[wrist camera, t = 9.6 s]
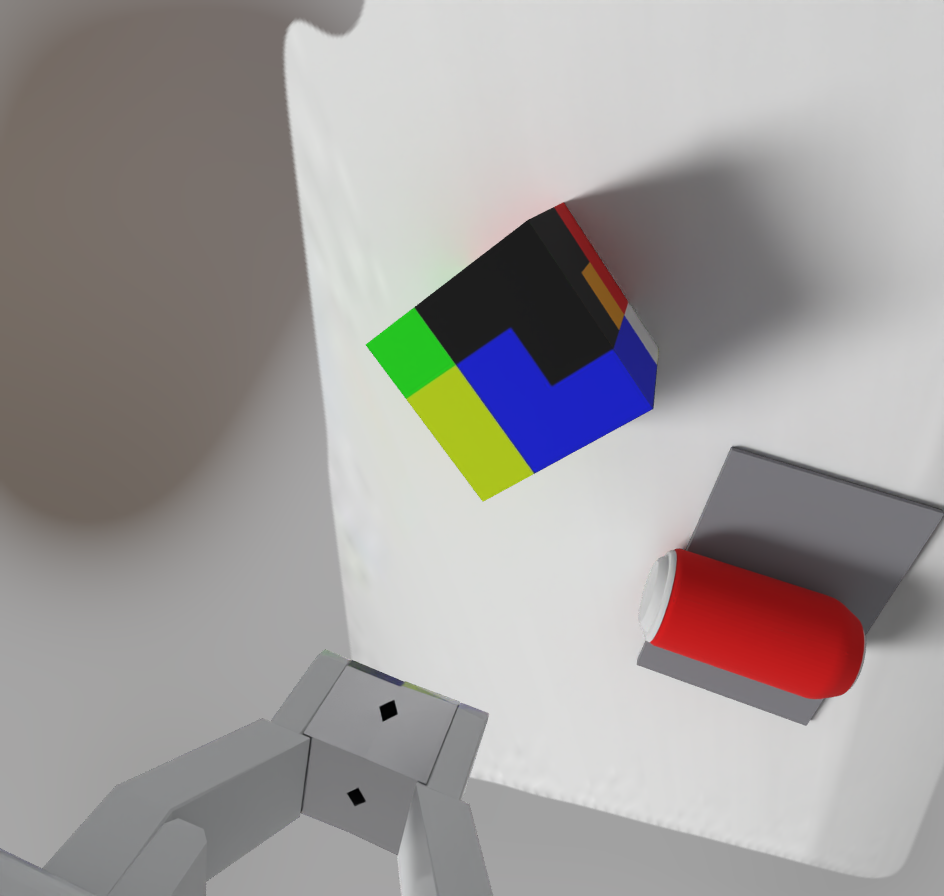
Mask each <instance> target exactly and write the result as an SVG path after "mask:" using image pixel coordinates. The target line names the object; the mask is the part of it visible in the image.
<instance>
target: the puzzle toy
mask: <svg viewBox="0 0 944 896" xmlns="http://www.w3.org/2000/svg"><path fill="white" fill-rule="evenodd" d="M366 346H367V347H368V349H369V350H370V351H371V353H372V354H373V355H374V357H375V358H376V359H377V361H378V362H379V363H380V365H381V366H382V367H383V369H384V370H385V371H386V373H387V374H388V375H389V377H390V378H391V379H392V381H393V382H394V383H395V385H396V386H397V387H398V389H399V390H400V391H401V393H402V394H403V395H404V397H405V398H406V399H407V401H408V402H409V403H410V405H411V406H412V408H413V409H414V410H415V412H416V413H417V414H418V416H419V417H420V418H421V420H422V421H423V422H424V424H425V425H426V426H427V428H428V429H429V430H430V432H431V433H432V434H433V436H434V437H435V438H436V440H437V441H438V442H439V444H440V445H441V446H442V448H443V449H444V450H445V452H446V453H447V454H448V456H449V457H450V458H451V460H452V461H453V462H454V464H455V465H456V466H457V468H458V469H459V470H460V472H461V473H462V474H463V476H464V477H465V478H466V480H467V481H468V482H469V484H470V485H471V486H472V488H473V489H474V490H475V492H476V493H477V495H478V496H479V497H480V499H481V500H482V501H485V500H487V499H489V498H491V497H492V496H494V495H496V494H498V493H500V492H502V491H503V490H505V489H507V488H509V487H511V486H513V485H514V484H516V483H518V482H520V481H522V480H524V479H525V478H527V477H529V476H531V475H533V474H535V473H536V472H538V471H540V470H542V469H544V468H546V467H547V466H549V465H551V464H553V463H555V462H557V461H558V460H560V459H562V458H564V457H566V456H568V455H569V454H571V453H573V452H575V451H577V450H579V449H580V448H582V447H584V446H586V445H588V444H590V443H591V442H593V441H595V440H597V439H599V438H601V437H602V436H604V435H606V434H608V433H610V432H612V431H613V430H615V429H617V428H619V427H621V426H623V425H624V424H626V423H628V422H630V421H632V420H634V419H635V418H637V417H639V416H641V415H643V414H645V413H646V412H648V411H650V410H652V409H653V406H654V395H655V385H656V375H657V364H658V354H659V349H658V347H657V345H656V344H655V342H654V341H653V339H652V338H651V336H650V335H649V333H648V332H647V330H646V328H645V327H644V325H643V324H642V322H641V321H640V319H639V318H638V316H637V315H636V313H635V312H634V310H633V308H632V307H631V305H630V304H629V302H628V301H627V299H626V298H625V296H624V295H623V293H622V291H621V290H620V288H619V287H618V285H617V284H616V282H615V281H614V279H613V278H612V276H611V274H610V273H609V271H608V270H607V268H606V267H605V265H604V264H603V262H602V261H601V259H600V257H599V256H598V254H597V253H596V251H595V250H594V248H593V247H592V245H591V244H590V242H589V241H588V239H587V237H586V236H585V234H584V233H583V231H582V230H581V228H580V227H579V225H578V224H577V222H576V220H575V219H574V217H573V216H572V214H571V213H570V211H569V210H568V208H567V207H566V205H565V203H564V202H563V203H561V204H559V205H557V206H555V207H553V208H551V209H549V210H547V211H545V212H543V213H541V214H539V215H537V216H535V217H533V218H531V219H529V220H527V221H526V222H525V223H523V224H522V225H521V226H519V227H518V228H517V229H516V230H514V231H513V232H512V233H510V234H509V235H508V236H506V237H505V238H504V239H503V240H501V241H500V242H499V243H497V244H496V245H495V246H493V247H492V248H491V249H490V250H488V251H487V252H486V253H484V254H483V255H482V256H480V257H479V258H478V259H477V260H475V261H474V262H473V263H471V264H470V265H469V266H467V267H466V268H465V269H464V270H462V271H461V272H460V273H458V274H457V275H456V276H454V277H453V278H452V279H451V280H449V281H448V282H447V283H445V284H444V285H443V286H441V287H440V288H439V289H437V290H436V291H435V292H434V293H432V294H431V295H430V296H428V297H427V298H426V299H424V300H423V301H422V302H421V303H419V304H418V305H417V306H415V307H414V308H413V309H411V310H410V311H409V312H408V313H406V314H405V315H404V316H402V317H401V318H400V319H398V320H397V321H396V322H395V323H393V324H392V325H391V326H389V327H388V328H387V329H385V330H384V331H383V332H382V333H380V334H379V335H378V336H376V337H375V338H374V339H372V340H371V341H370V342H369V343H367V344H366Z"/></svg>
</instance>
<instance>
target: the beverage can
mask: <svg viewBox="0 0 944 896" xmlns="http://www.w3.org/2000/svg"><path fill="white" fill-rule="evenodd" d="M638 620H639V624H640V627H641V629H642V630H643V635H644V638H645V640H646V641H647V642H650V643H651V644H652V645H654V646H657V647H659V648H662V649H665V650H668V651H671V652H674V653H677V654H680V655H683V656H686V657H688V658H691V659H694V660H697V661H700V662H703V663H706V664H709V665H712V666H714V667H717V668H720V669H723V670H726V671H729V672H732V673H735V674H738V675H741V676H743V677H746V678H749V679H752V680H755V681H758V682H761V683H764V684H767V685H770V686H772V687H775V688H778V689H781V690H784V691H787V692H790V693H793V694H796V695H799V696H801V697H804V698H809V699H824V698H829V697H835V696H840V695H842V694H844V693H846V692H847V691H848V690H849V689H850V688H851V687H852V686H853V685H854V683H855V682H856V680H857V679H858V677H859V675H860V672H861V669H862V666H863V663H864V658H865V652H866V638H865V633H864V630H863V627H862V624H861V622H860V620H859V619H858V618H857V617H856V616H855V615H854V614H853V613H852V612H851V611H850V610H849V609H848V608H847V607H846V606H845V605H844V604H842V603H841V602H840V601H838V600H837V599H835V598H833V597H830V596H828V595H824V594H821V593H818V592H815V591H812V590H809V589H806V588H802V587H799V586H796V585H793V584H790V583H787V582H784V581H780V580H777V579H774V578H771V577H768V576H765V575H762V574H758V573H755V572H752V571H749V570H746V569H743V568H740V567H736V566H733V565H730V564H727V563H724V562H721V561H718V560H714V559H711V558H708V557H705V556H702V555H699V554H696V553H692V552H689V551H686V550H683V549H675V550H671V551H669V552H667V553H666V555H665V556H664V557H661V558H659V559H658V560H657V561H656V562H655V563H654V565H653V567H652V569H651V571H650V573H649V576H648V579H647V581H646V584H645V588H644V591H643V595H642V598H641V603H640V608H639V615H638Z"/></svg>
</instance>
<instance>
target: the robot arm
mask: <svg viewBox="0 0 944 896" xmlns="http://www.w3.org/2000/svg"><path fill="white" fill-rule="evenodd" d="M488 716H489V713H486V712H484V711H481V710H479V709H476V708H474V707H471V706H468V705H466V704H463V703H460V702H459V701H457V700H454V699H451V698H449V697H446V696H443V695H441V694H438V693H435V692H433V691H430V690H427V689H425V688H422V687H419V686H416V685H414V684H411V683H408V682H403V681H401V680H399V679H396V678H394V677H391V676H389V675H387V674H384V673H382V672H379V671H377V670H375V669H372V668H370V667H368V666H365V665H363V664H360V663H358V662H356V661H353V660H350V659H348V658H345V657H342V656H340V655H338V654H336V653H333V652H331V651H328V650H326V649H325V650H324V651H323V652H321V653H320V654H319V655H318V656H317V657H316V658H315V660H314V661H313V663H312V664H311V665H310V667H309V668H308V670H307V671H306V673H305V674H304V675H303V677H302V678H301V679H300V681H299V682H298V684H297V685H296V686H295V688H294V689H293V691H292V692H291V693H290V695H289V696H288V698H287V699H286V700H285V702H284V703H283V705H282V706H281V707H280V709H279V710H278V711H277V713H276V714H275V716H274V717H273V718H272V720H271V721H269V720H266V719H263V718H262V719H260V720H257V721H255V722H253V723H251V724H249V725H247V726H244V727H242V728H240V729H238V730H236V731H234V732H231V733H229V734H227V735H225V736H223V737H221V738H218V739H216V740H214V741H212V742H210V743H208V744H206V745H203V746H201V747H199V748H197V749H195V750H192V751H190V752H188V753H186V754H184V755H182V756H179V757H177V758H175V759H173V760H171V761H169V762H166V763H164V764H162V765H160V766H158V767H156V768H153V769H151V770H149V771H147V772H145V773H143V774H140V775H138V776H136V777H134V778H132V779H130V780H127V781H126V782H123V783H121V784H119V785H117V786H115V788H113V790H112V791H111V792H110V793H109V794H108V795H107V796H106V798H105V799H104V800H103V801H102V802H101V803H100V804H99V805H98V806H97V808H96V809H95V810H94V811H93V812H92V813H91V814H90V815H89V816H88V818H87V819H86V820H85V821H84V822H83V823H82V824H81V825H80V827H79V828H78V829H77V830H76V831H75V833H73V834H72V836H71V837H70V838H69V839H68V840H67V841H66V842H65V843H64V845H63V846H62V847H61V848H60V849H59V850H58V851H57V852H56V854H55V855H54V856H53V857H52V858H51V859H50V860H49V861H48V863H47V864H46V865H45V866H44V867H43V868H40V867H38V866H36V865H34V864H32V863H30V862H27V861H25V860H23V859H21V858H19V857H17V856H15V855H13V854H11V853H9V852H7V851H5V850H3V849H1V848H0V896H206V881H208V880H209V879H211V878H212V877H214V876H215V875H216V874H218V873H219V872H221V871H222V870H224V869H225V868H227V867H228V866H230V865H231V864H232V863H234V862H235V861H237V860H238V859H240V858H241V857H242V856H244V855H245V854H247V853H248V852H250V851H251V850H252V849H254V848H255V847H257V846H258V845H260V844H261V843H263V842H264V841H265V840H267V839H268V838H269V837H271V836H272V835H274V834H276V833H277V832H278V831H280V830H281V829H283V828H284V827H285V826H287V825H289V824H290V823H291V822H293V821H294V820H296V819H297V818H299V817H300V813H302V814H305V815H307V816H310V817H312V818H315V819H317V820H320V821H322V822H324V823H327V824H329V825H332V826H334V827H337V828H340V829H342V830H345V831H347V832H350V833H352V834H354V835H356V836H358V837H360V838H362V839H364V840H366V841H369V842H371V843H373V844H375V845H377V846H379V847H381V848H383V849H386V850H388V851H390V852H392V853H394V854H396V855H398V858H397V860H398V870H399V879H400V888H401V896H493V893H492V889H491V885H490V881H489V878H488V874H487V870H486V866H485V862H484V859H483V855H482V851H481V847H480V844H479V839H478V835H477V831H476V828H475V824H474V820H473V816H472V812H471V808H470V805H469V804H468V803H466V802H464V801H462V799H463V796H464V793H465V790H466V787H467V784H468V781H469V778H470V774H471V771H472V768H473V765H474V762H475V759H476V755H477V752H478V749H479V746H480V743H481V739H482V736H483V733H484V730H485V727H486V724H487V720H488Z"/></svg>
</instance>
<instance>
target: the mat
mask: <svg viewBox="0 0 944 896" xmlns="http://www.w3.org/2000/svg"><path fill="white" fill-rule="evenodd" d="M943 516H944V513H943V511H942V510H941V509H937V508H934V507H931V506H927V505H924V504H921V503H917V502H914V501H911V500H907V499H904V498H901V497H897V496H894V495H891V494H887V493H884V492H880V491H877V490H874V489H870V488H867V487H864V486H860V485H857V484H854V483H850V482H847V481H844V480H840V479H837V478H834V477H830V476H827V475H824V474H820V473H817V472H814V471H810V470H807V469H804V468H800V467H797V466H794V465H790V464H787V463H784V462H780V461H777V460H774V459H770V458H767V457H764V456H760V455H757V454H754V453H750V452H747V451H744V450H740V449H737V448H734V447H731V449H730V451H729V453H728V456H727V458H726V460H725V462H724V465H723V467H722V469H721V472H720V474H719V476H718V478H717V481H716V483H715V485H714V487H713V490H712V492H711V494H710V496H709V499H708V501H707V503H706V505H705V508H704V510H703V512H702V515H701V517H700V519H699V521H698V524H697V526H696V528H695V530H694V533H693V535H692V537H691V539H690V542H689V544H688V546H687V548H686V551H689V552H692V553H696V554H699V555H702V556H705V557H708V558H711V559H714V560H718V561H721V562H724V563H727V564H730V565H733V566H736V567H740V568H743V569H746V570H749V571H752V572H755V573H758V574H762V575H765V576H768V577H771V578H774V579H777V580H780V581H784V582H787V583H790V584H793V585H796V586H799V587H802V588H806V589H809V590H812V591H815V592H818V593H821V594H824V595H828V596H830V597H833V598H835V599H837V600H838V601H840V602H841V603H842V604H844V605H845V606H846V607H847V608H848V609H849V610H850V611H851V612H852V613H853V614H854V615H855V616H856V617H857V618H858V619H859V620H860V622H861V624H862V627H863V630H864V633H865V635H866V634H867V632H868V631H869V629H870V627H871V626H872V624H873V623H874V621H875V620H876V618H877V617H878V615H879V614H880V612H881V611H882V609H883V608H884V606H885V605H886V603H887V601H888V600H889V598H890V597H891V595H892V594H893V592H894V591H895V589H896V588H897V586H898V585H899V583H900V582H901V580H902V578H903V577H904V575H905V574H906V572H907V571H908V569H909V568H910V566H911V565H912V563H913V562H914V560H915V559H916V557H917V556H918V554H919V552H920V551H921V549H922V548H923V546H924V545H925V543H926V542H927V540H928V539H929V537H930V536H931V534H932V533H933V531H934V529H935V528H936V526H937V525H938V523H939V522H940V520H941V519H942V517H943ZM637 665H639V666H642V667H645V668H647V669H650V670H653V671H656V672H659V673H661V674H664V675H667V676H670V677H672V678H675V679H678V680H681V681H683V682H686V683H689V684H692V685H695V686H697V687H700V688H703V689H706V690H708V691H711V692H714V693H717V694H720V695H722V696H725V697H728V698H731V699H733V700H736V701H739V702H742V703H744V704H747V705H750V706H753V707H756V708H758V709H761V710H764V711H767V712H769V713H772V714H775V715H778V716H780V717H783V718H786V719H789V720H792V721H794V722H797V723H800V724H803V725H805V726H806V725H807V724H808V722H809V721H810V719H811V718H812V716H813V715H814V713H815V712H816V710H817V709H818V707H819V706H820V704H821V702H822V701H823V699H809V698H804V697H801V696H799V695H796V694H793V693H790V692H787V691H784V690H781V689H778V688H775V687H772V686H770V685H767V684H764V683H761V682H758V681H755V680H752V679H749V678H746V677H743V676H741V675H738V674H735V673H732V672H729V671H726V670H723V669H720V668H717V667H714V666H712V665H709V664H706V663H703V662H700V661H697V660H694V659H691V658H688V657H686V656H683V655H680V654H677V653H674V652H671V651H668V650H665V649H662V648H659V647H657V646H654V645H652V644H651V643H650V642H647V641H645V643H644V646H643V648H642V650H641V653H640V655H639V657H638V659H637Z"/></svg>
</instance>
